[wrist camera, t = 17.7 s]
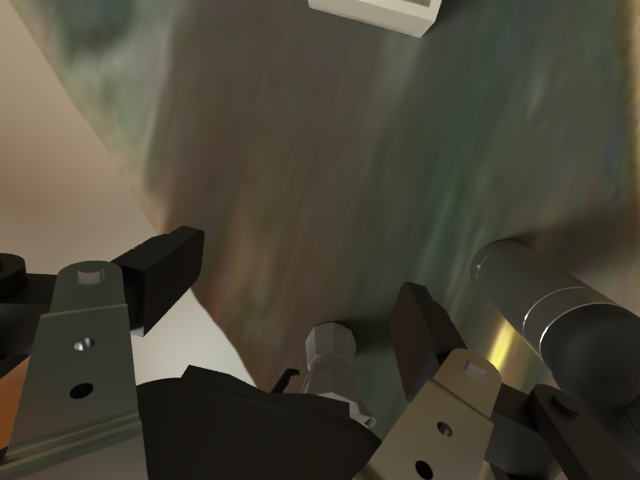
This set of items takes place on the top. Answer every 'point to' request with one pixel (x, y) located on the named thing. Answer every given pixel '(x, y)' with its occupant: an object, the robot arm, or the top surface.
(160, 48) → the top surface
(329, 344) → the coffeepot
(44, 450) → the robot arm
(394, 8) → the bin
